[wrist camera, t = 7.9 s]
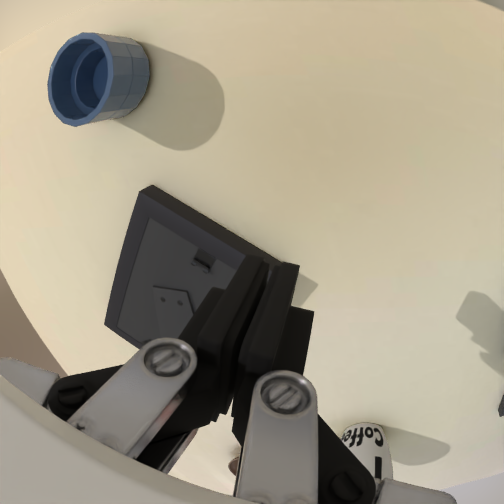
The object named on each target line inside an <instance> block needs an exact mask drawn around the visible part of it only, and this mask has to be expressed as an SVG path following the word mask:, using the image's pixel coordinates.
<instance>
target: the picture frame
mask: <svg viewBox="0 0 504 504" xmlns="http://www.w3.org/2000/svg"><path fill="white" fill-rule="evenodd" d="M247 254H252V255H257V256H261V257H265V262H267V263H270V269H269V275H268V281H269V278H270V276H271V273H272V271H273V268H274V266H275V265H280V266H281V265H282V263H281V262H280V261H278V260H276V259H275V258H273V257H271V256H270V255H268V254H266V253H265V252H263V251H261V250H260V249H258V248H256V247H255V246H253V245H252V244H250V243H248V242H247V241H245V240H243V239H242V238H240V237H238V236H237V235H235V234H233V233H232V232H230V231H228V230H227V229H225V228H223V227H222V226H220V225H218V224H217V223H215V222H213V221H212V220H210V219H208V218H207V217H205V216H203V215H202V214H200V213H198V212H197V211H195V210H193V209H192V208H190V207H188V206H187V205H185V204H183V203H182V202H180V201H178V200H177V199H175V198H173V197H172V196H170V195H168V194H167V193H165V192H163V191H162V190H160V189H158V188H157V187H155V186H153V185H150V186H149V187H147V188H145V189H143V190H141V191H139V194H138V197H137V200H136V203H135V206H134V210H133V213H132V216H131V219H130V223H129V226H128V229H127V233H126V236H125V240H124V243H123V247H122V250H121V254H120V258H119V262H118V266H117V269H116V273H115V278H114V282H113V286H112V290H111V294H110V299H109V303H108V308H107V313H106V318H105V323H104V325H105V326H107V327H108V328H110V329H111V330H112V331H114V332H115V333H116V334H118V335H119V336H121V337H122V338H124V339H125V340H126V341H128V342H129V343H131V344H132V345H134V346H135V347H137V348H138V349H141V348H142V347H143V346H144V345H146V344H147V343H148V342H150V341H152V340H155V339H158V338H166V337H168V338H176V339H178V337H179V336H180V334H181V333H182V331H183V330H184V328H185V327H186V325H187V324H188V322H189V321H190V319H191V318H192V316H193V315H194V313H195V312H196V310H197V309H198V307H199V306H200V304H201V303H202V301H203V300H204V298H205V297H206V295H207V294H208V292H209V291H210V289H211V288H212V287H217V288H221V289H226V288H227V286H228V284H229V283H230V281H231V280H232V278H233V276H234V275H235V273H236V271H237V270H238V268H239V266H240V265H241V263H242V261H243V260H244V258H245V256H246V255H247ZM268 281H267V283H268Z"/></svg>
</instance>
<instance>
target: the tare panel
mask: <svg viewBox="0 0 504 504" xmlns="http://www.w3.org/2000/svg"><path fill="white" fill-rule="evenodd" d="M498 412H499V416H500V417H501V416H504V395H503V398H502V401H501V404H500V406H499V409H498Z"/></svg>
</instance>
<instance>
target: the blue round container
mask: <svg viewBox="0 0 504 504" xmlns="http://www.w3.org/2000/svg"><path fill="white" fill-rule="evenodd" d="M149 76H150V72H149V60H148V58H147V56H146V54H145V52H144V50H143V48H142V46H141V45H140V44H138V43H137V42H135V41H134V40H133V39H131V38H125V37H119V36H113V35H106V34H98V33H80V34H78V35H76V36H74V37H72V38H70V39H69V40H68V41H67V42H66V43H65V44H64V45H63V46H62V47H61V48H60V49H59V51H58V52H57V54H56V56H55V58H54V60H53V63H52V65H51V67H50V72H49V78H48V84H47V85H48V98H49V102H50V104H51V107H52V109H53V112H54V114H55V115H56V116H57V117H58V118H59V119H60V120H61V121H62V122H63V123H64V124H67V125H71V126H74V127H77V126H81V125H86V124H91V123H95V122H100V121H105V120H111V119H115V118H120V117H124V116H125V115H127V114H128V113H129V112H131V111H132V110H133V109H135V108H136V107H137V105H138V104H139V102H140V101H141V99H142V98H143V96H144V95H145V93H146V89H147V85H148V81H149Z"/></svg>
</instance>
